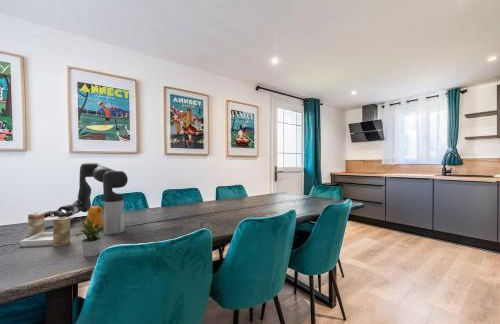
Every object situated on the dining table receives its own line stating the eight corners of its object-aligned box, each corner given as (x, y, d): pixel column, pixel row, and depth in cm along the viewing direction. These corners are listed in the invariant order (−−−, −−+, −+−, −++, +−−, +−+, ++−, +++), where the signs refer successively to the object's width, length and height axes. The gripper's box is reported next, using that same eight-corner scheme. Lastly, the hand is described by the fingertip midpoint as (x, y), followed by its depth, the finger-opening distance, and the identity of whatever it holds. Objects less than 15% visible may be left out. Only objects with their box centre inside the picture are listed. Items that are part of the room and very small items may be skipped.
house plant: (56, 261, 89) (56, 218, 89) (84, 248, 103) (84, 211, 103) (92, 262, 88) (92, 219, 88) (115, 248, 102) (115, 211, 102)
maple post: (44, 233, 124) (44, 212, 124) (38, 235, 119) (38, 214, 119) (34, 233, 123) (34, 212, 123) (27, 236, 118) (28, 214, 118)
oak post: (70, 242, 110) (70, 216, 110) (64, 245, 105) (64, 219, 105) (59, 242, 109) (59, 217, 109) (53, 246, 104) (53, 219, 104)
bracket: (95, 229, 131) (95, 208, 131) (84, 228, 132) (84, 207, 132) (109, 224, 142) (110, 204, 142) (99, 223, 143) (99, 204, 143)
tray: (69, 236, 119) (69, 231, 119) (52, 245, 106) (52, 239, 106) (40, 237, 117) (40, 232, 117) (19, 246, 104) (19, 241, 104)
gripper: (55, 205, 147) (36, 210, 131) (80, 204, 149) (64, 209, 133) (55, 216, 147) (36, 223, 131) (80, 216, 149) (64, 222, 133)
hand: (50, 216), depth 132 cm, fingers open, 8 cm apart
